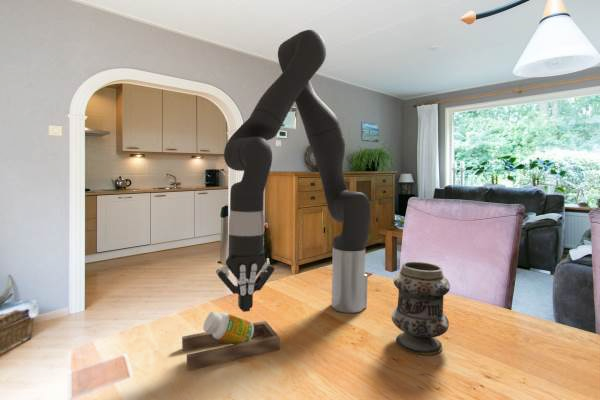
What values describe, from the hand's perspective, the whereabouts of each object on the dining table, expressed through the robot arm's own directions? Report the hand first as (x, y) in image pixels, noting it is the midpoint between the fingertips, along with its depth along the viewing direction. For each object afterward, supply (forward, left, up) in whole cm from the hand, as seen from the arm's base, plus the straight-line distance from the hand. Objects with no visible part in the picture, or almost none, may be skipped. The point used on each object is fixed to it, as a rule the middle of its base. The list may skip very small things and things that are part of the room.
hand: (245, 310), depth 72 cm
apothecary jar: (-36, +15, -8) cm, 40 cm away
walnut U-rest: (+3, 0, -8) cm, 9 cm away
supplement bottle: (-1, 0, -6) cm, 6 cm away
